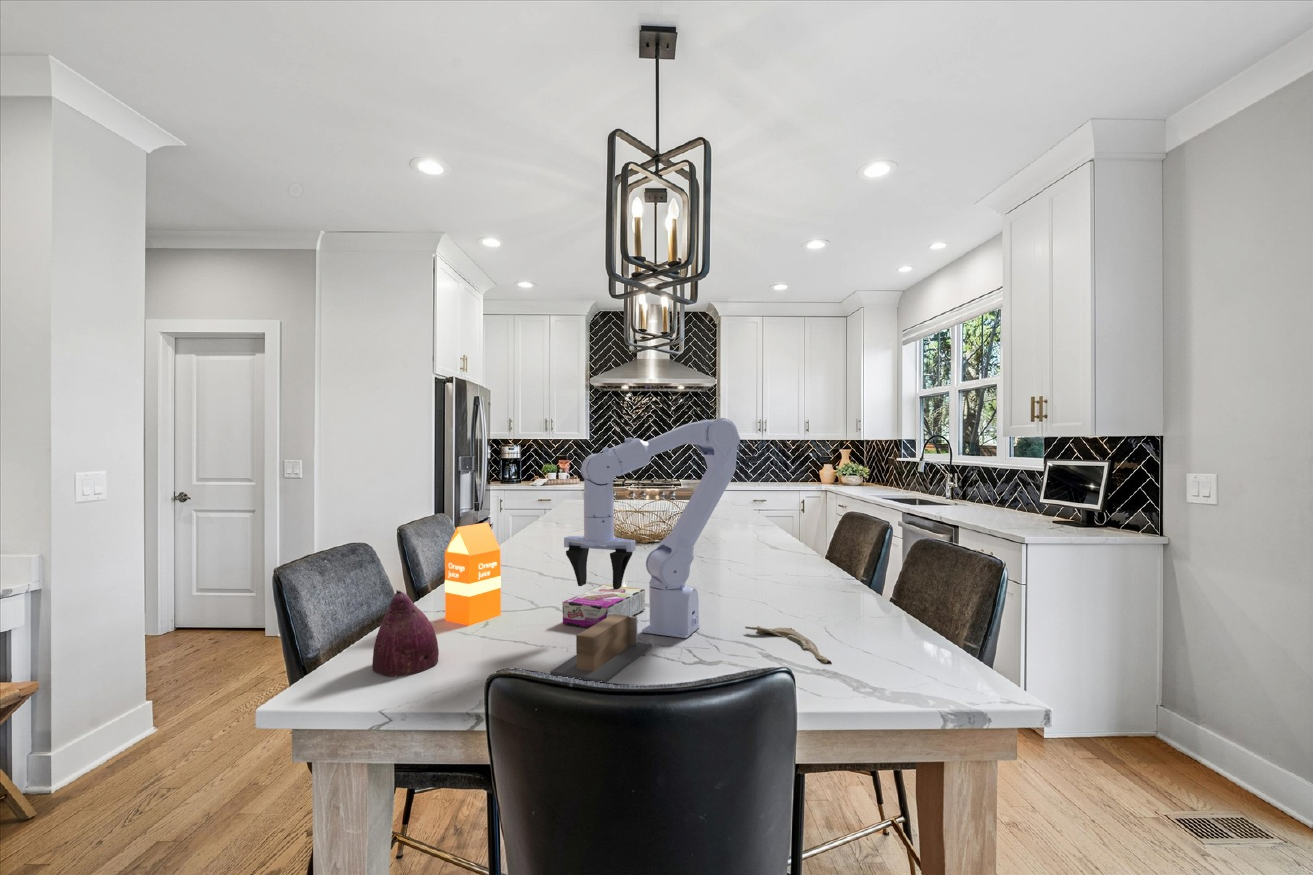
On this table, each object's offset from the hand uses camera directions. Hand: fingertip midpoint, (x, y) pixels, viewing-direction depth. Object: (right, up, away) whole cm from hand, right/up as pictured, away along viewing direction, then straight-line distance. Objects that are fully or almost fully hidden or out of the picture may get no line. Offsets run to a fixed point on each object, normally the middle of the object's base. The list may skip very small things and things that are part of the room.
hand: (599, 586), depth 115 cm
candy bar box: (-4, -7, +6) cm, 10 cm away
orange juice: (-28, -10, +14) cm, 33 cm away
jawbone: (+35, -10, -6) cm, 37 cm away
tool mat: (+2, -10, -11) cm, 15 cm away
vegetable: (-32, -10, -13) cm, 36 cm away
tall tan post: (+2, -9, -11) cm, 15 cm away
